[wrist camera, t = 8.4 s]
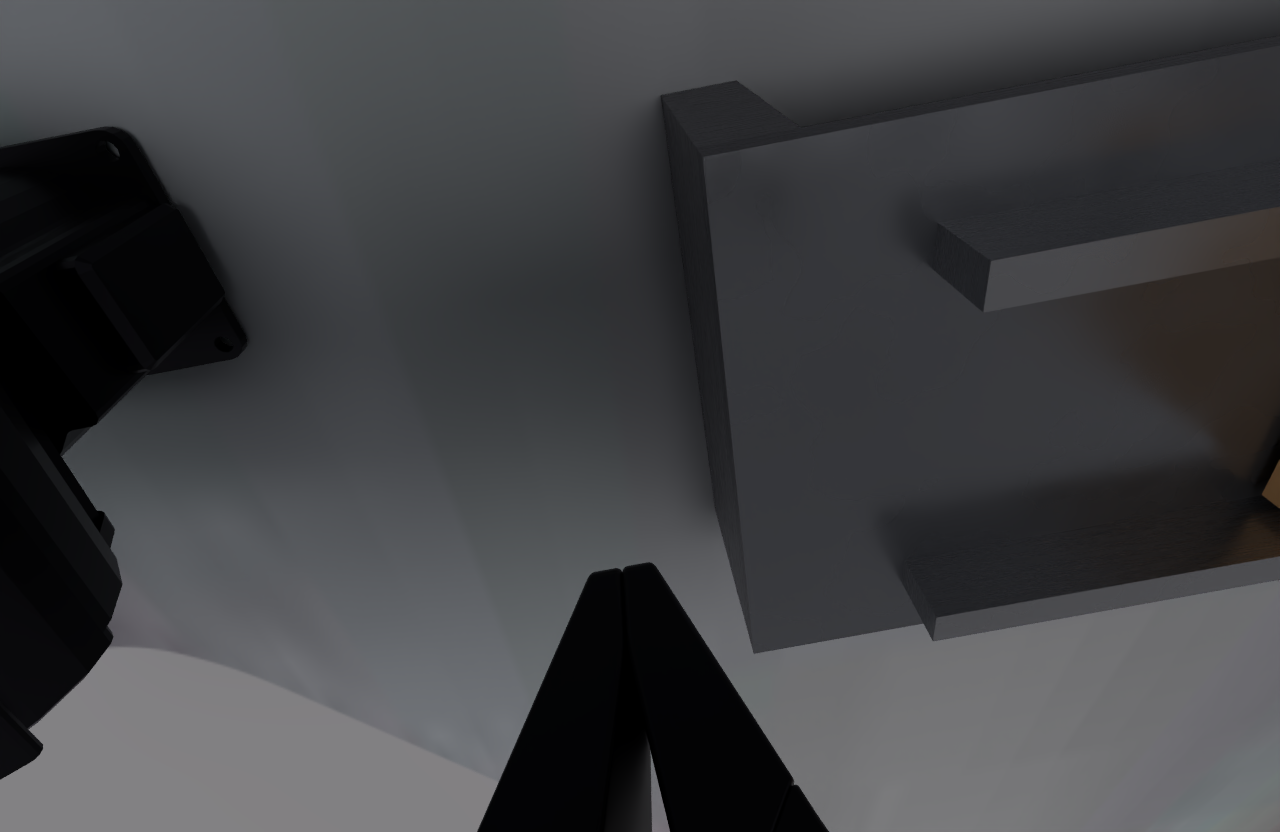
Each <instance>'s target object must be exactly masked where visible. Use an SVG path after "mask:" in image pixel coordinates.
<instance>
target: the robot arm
mask: <svg viewBox="0 0 1280 832" xmlns="http://www.w3.org/2000/svg"><path fill="white" fill-rule="evenodd" d="M106 141H108V142H110V143H112V144H114V146H115V147H116V148H117V149H118V151H119V154H120V156H119V158H117V157H115V156H113V155H111V154H110V153H109V152H108V150H107V149H106V146H105V142H106ZM224 294H225V292H224V290H223V288H222V286H221V284H220V282H219V281H218V279H217V277H216V275H215V274H214V272H213V270H212V268H211V267H210V265H209V263H208V261H207V260H206V258H205V256H204V254H203V253H202V251H201V249H200V247H199V246H198V244H197V242H196V240H195V239H194V237H193V235H192V233H191V232H190V230H189V228H188V226H187V225H186V223H185V221H184V219H183V217H182V216H181V214H180V212H179V211H178V210H177V209H175V208H174V207H172V206H171V204H170V202H169V200H168V199H167V197H166V195H165V193H164V192H163V190H162V188H161V187H160V185H159V183H158V181H157V180H156V178H155V176H154V174H153V173H152V171H151V169H150V167H149V166H148V164H147V162H146V160H145V159H144V157H143V155H142V153H141V152H140V150H139V148H138V146H137V145H136V143H135V142H134V141H133V139H132V138H131V137H130V136H129V135H128V134H126V133H125V132H124V131H122V130H120V129H117V128H115V127H100V128H95V129H90V130H85V131H80V132H75V133H70V134H65V135H60V136H55V137H50V138H45V139H39V140H34V141H29V142H24V143H19V144H14V145H9V146H4V147H0V779H2V778H4V777H6V776H7V775H9V774H11V773H13V772H14V771H16V770H18V769H19V768H21V767H23V766H25V765H27V764H28V763H30V762H31V761H33V760H35V759H36V758H37V756H39V755H40V753H41V751H42V750H43V744H42V743H41V742H40V741H39V740H38V739H37V738H36V737H35V736H34V735H33V734H32V733H31V732H30V731H29V730H28V729H30V728H31V727H32V726H33V725H35V724H36V723H38V722H39V721H40V720H41V719H42V718H43V717H44V716H45V715H46V714H47V713H48V712H49V711H50V710H51V709H52V708H53V707H54V706H56V705H57V704H58V703H59V702H60V701H61V700H62V699H63V698H64V697H65V696H66V695H67V694H68V693H69V692H70V691H71V690H72V689H74V687H75V686H77V685H78V684H79V683H80V682H81V681H82V680H83V679H84V678H85V677H86V675H87V674H88V673H89V672H90V670H91V669H92V668H93V666H94V665H95V664H96V662H97V661H98V660H99V658H100V657H101V655H103V653H104V652H105V651H106V649H107V648H108V647H109V645H110V644H111V642H112V639H113V634H112V632H111V630H110V629H109V628H108V626H107V625H108V624H109V622H110V620H111V618H112V615H113V612H114V609H115V606H116V603H117V600H118V596H119V593H120V590H121V587H122V580H121V576H120V571H119V567H118V563H117V558H116V557H115V555H114V554H113V552H112V551H111V549H110V547H111V543H112V539H113V535H114V531H115V529H114V527H113V525H112V524H111V522H110V521H109V519H108V518H107V516H106V515H105V513H104V512H102V511H97V510H96V509H95V507H94V506H93V504H92V503H91V501H90V500H89V498H88V497H87V495H86V493H85V492H84V490H83V489H82V487H81V486H80V484H79V483H78V481H77V480H76V478H75V477H74V475H73V474H72V472H71V471H70V469H69V468H68V466H67V465H66V463H65V461H64V460H63V458H62V457H61V456H62V455H63V454H65V453H66V452H67V451H68V450H69V449H70V448H71V447H72V446H73V445H74V444H75V443H76V442H77V441H78V440H79V439H80V438H81V437H82V436H83V435H84V434H85V433H86V432H87V431H88V430H89V429H90V428H91V427H92V426H94V425H96V424H97V423H98V422H99V421H100V420H101V419H102V418H103V417H104V416H105V415H106V414H107V413H108V412H109V411H110V410H111V409H112V408H113V407H114V406H115V405H116V404H117V403H118V402H119V401H120V400H121V399H122V398H123V397H124V396H125V395H126V394H127V393H128V392H129V391H130V390H131V389H132V388H133V387H134V386H135V385H136V384H137V383H138V382H139V381H140V380H141V379H142V378H143V377H145V376H146V375H151V374H156V373H162V372H167V371H172V370H177V369H183V368H188V367H193V366H198V365H204V364H209V363H214V362H220V361H225V360H230V359H234V358H236V357H238V356H239V355H240V354H241V353H242V351H243V350H244V349H245V348H246V347H247V338H246V335H245V333H244V331H243V330H242V328H241V326H240V324H239V323H238V321H237V319H236V317H235V316H234V314H233V312H232V310H231V309H230V307H229V305H228V303H227V302H226V300H225V298H224ZM220 337H225V338H227V339H229V340H230V341H231V342H232V344H233V346H230V345H227V344H225V343H224V342H223V341H222V340H221V338H220ZM650 750H651V754H652V759H653V763H654V767H655V771H656V775H657V779H658V783H659V787H660V791H661V796H662V800H663V804H664V808H665V812H666V816H667V820H668V824H669V829H670V832H829V831H828V830H827V828H826V827H825V825H824V824H823V822H822V821H821V820H820V818H819V817H818V815H817V814H816V812H815V811H814V809H813V807H812V806H811V804H810V803H809V801H808V800H807V798H806V797H805V795H804V794H803V792H802V791H801V789H800V787H799V786H798V785H794V779H793V777H792V776H791V774H790V773H789V771H788V770H787V768H786V766H785V765H784V763H783V762H782V760H781V759H780V757H779V756H778V754H777V753H776V751H775V750H774V748H773V746H772V745H771V743H770V742H769V740H768V739H767V737H766V736H765V734H764V733H763V731H762V729H761V728H760V726H759V725H758V723H757V722H756V720H755V719H754V717H753V716H752V714H751V712H750V711H749V709H748V708H747V706H746V705H745V703H744V702H743V700H742V699H741V697H740V695H739V694H738V692H737V691H736V689H735V688H734V686H733V685H732V683H731V682H730V680H729V678H728V677H727V675H726V674H725V672H724V671H723V669H722V668H721V666H720V665H719V663H718V661H717V660H716V658H715V657H714V655H713V654H712V652H711V651H710V649H709V648H708V646H707V645H706V643H705V641H704V640H703V638H702V637H701V635H700V634H699V632H698V631H697V629H696V628H695V626H694V624H693V623H692V621H691V620H690V618H689V617H688V615H687V614H686V612H685V611H684V609H683V607H682V606H681V604H680V603H679V601H678V600H677V598H676V597H675V595H674V594H673V592H672V590H671V589H670V587H669V586H668V584H667V583H666V581H665V580H664V578H663V577H662V575H661V573H660V572H659V570H658V569H657V567H656V566H655V565H654V564H653V563H650V562H648V563H642V564H636V565H631V566H627V567H625V568H624V569H623V572H622V571H621V570H620V569H618V568H614V569H609V570H603V571H598V572H594V573H592V574H591V575H590V576H589V577H588V579H587V581H586V584H585V586H584V588H583V590H582V593H581V595H580V597H579V600H578V602H577V604H576V606H575V609H574V611H573V613H572V616H571V618H570V620H569V622H568V625H567V627H566V629H565V632H564V634H563V636H562V639H561V641H560V643H559V645H558V648H557V650H556V652H555V655H554V657H553V659H552V661H551V664H550V666H549V668H548V671H547V673H546V675H545V677H544V680H543V682H542V684H541V687H540V689H539V691H538V694H537V696H536V698H535V700H534V703H533V705H532V707H531V710H530V712H529V714H528V716H527V719H526V721H525V723H524V726H523V728H522V730H521V732H520V735H519V737H518V739H517V742H516V744H515V746H514V749H513V751H512V753H511V755H510V758H509V760H508V762H507V765H506V767H505V769H504V771H503V774H502V776H501V778H500V781H499V783H498V785H497V788H496V790H495V792H494V795H493V797H492V799H491V801H490V804H489V806H488V808H487V811H486V813H485V815H484V817H483V820H482V822H481V824H480V827H479V829H478V831H477V832H652V810H651V756H650Z"/></svg>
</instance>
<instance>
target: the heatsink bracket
mask: <svg viewBox="0 0 1280 832" xmlns="http://www.w3.org/2000/svg"><path fill="white" fill-rule="evenodd" d="M661 99H662V107H663V114H664V122H665V130H666V137H667V145H668V152H669V160H670V168H671V175H672V183H673V191H674V198H675V206H676V213H677V221H678V229H679V236H680V244H681V251H682V259H683V267H684V274H685V282H686V290H687V297H688V305H689V312H690V320H691V328H692V335H693V343H694V351H695V358H696V366H697V373H698V381H699V389H700V396H701V404H702V411H703V419H704V427H705V434H706V442H707V450H708V457H709V465H710V472H711V480H712V488H713V495H714V503H715V511H716V514H717V518H718V522H719V525H720V529H721V533H722V537H723V540H724V544H725V548H726V552H727V555H728V559H729V563H730V567H731V570H732V574H733V578H734V581H735V585H736V589H737V593H738V596H739V600H740V604H741V608H742V611H743V615H744V619H745V623H746V626H747V630H748V634H749V637H750V641H751V645H752V649H753V652H754V654H755V653H760V652H766V651H771V650H777V649H783V648H788V647H794V646H799V645H805V644H811V643H816V642H822V641H827V640H833V639H839V638H844V637H850V636H855V635H861V634H867V633H872V632H878V631H883V630H889V629H895V628H900V627H906V626H912V625H917V624H923V623H924V625H925V627H926V629H927V631H928V633H929V635H930V637H931V638H932V640H933V641H937V640H943V639H949V638H954V637H960V636H966V635H971V634H977V633H982V632H988V631H994V630H999V629H1005V628H1010V627H1016V626H1022V625H1027V624H1033V623H1039V622H1044V621H1050V620H1055V619H1061V618H1067V617H1072V616H1078V615H1084V614H1089V613H1095V612H1100V611H1106V610H1112V609H1117V608H1123V607H1129V606H1134V605H1140V604H1145V603H1151V602H1157V601H1162V600H1168V599H1174V598H1179V597H1185V596H1190V595H1196V594H1202V593H1207V592H1213V591H1218V590H1224V589H1230V588H1235V587H1241V586H1247V585H1252V584H1258V583H1263V582H1269V581H1275V580H1280V508H1278V507H1277V506H1276V505H1274V504H1273V503H1272V502H1270V501H1269V500H1268V499H1267V498H1265V497H1264V496H1263V495H1262V493H1263V491H1264V489H1265V487H1266V485H1267V483H1268V481H1269V479H1270V477H1271V475H1272V474H1273V472H1274V470H1275V468H1276V466H1277V464H1278V462H1279V460H1280V35H1279V36H1274V37H1269V38H1263V39H1258V40H1253V41H1248V42H1243V43H1237V44H1232V45H1227V46H1222V47H1217V48H1212V49H1206V50H1201V51H1196V52H1191V53H1186V54H1180V55H1175V56H1170V57H1165V58H1160V59H1155V60H1149V61H1144V62H1139V63H1134V64H1129V65H1123V66H1118V67H1113V68H1108V69H1103V70H1098V71H1092V72H1087V73H1082V74H1077V75H1072V76H1066V77H1061V78H1056V79H1051V80H1046V81H1041V82H1035V83H1030V84H1025V85H1020V86H1015V87H1009V88H1004V89H999V90H994V91H989V92H984V93H978V94H973V95H968V96H963V97H958V98H952V99H947V100H942V101H937V102H932V103H926V104H921V105H916V106H911V107H906V108H901V109H895V110H890V111H885V112H880V113H875V114H869V115H864V116H859V117H854V118H849V119H844V120H838V121H833V122H828V123H823V124H818V125H812V126H807V127H802V128H800V127H799V126H798V125H796V124H795V123H794V122H792V121H791V120H790V119H788V118H787V117H785V116H784V115H783V114H781V113H780V112H779V111H777V110H776V109H775V108H773V107H772V106H771V105H769V104H768V103H766V102H765V101H764V100H762V99H761V98H760V97H758V96H757V95H756V94H754V93H753V92H751V91H750V90H749V89H747V88H746V87H745V86H743V85H742V84H741V83H739V82H738V81H732V82H727V83H722V84H717V85H711V86H706V87H701V88H696V89H691V90H686V91H681V92H675V93H670V94H665V95H661Z"/></svg>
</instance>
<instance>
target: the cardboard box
mask: <svg viewBox="0 0 1280 832" xmlns="http://www.w3.org/2000/svg"><path fill="white" fill-rule="evenodd" d="M1262 495H1263V496H1264V497H1265V498H1267V499H1268V500H1269V501H1270V502H1272V503H1273V504H1274V505H1276V506H1277V507H1278V508H1280V460H1279V462H1278V464H1277V466H1276V468H1275V470H1274V472H1273V474H1272V475H1271V477H1270V479H1269V481H1268V483H1267V485H1266V487H1265V489H1264V491H1263V493H1262Z"/></svg>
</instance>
